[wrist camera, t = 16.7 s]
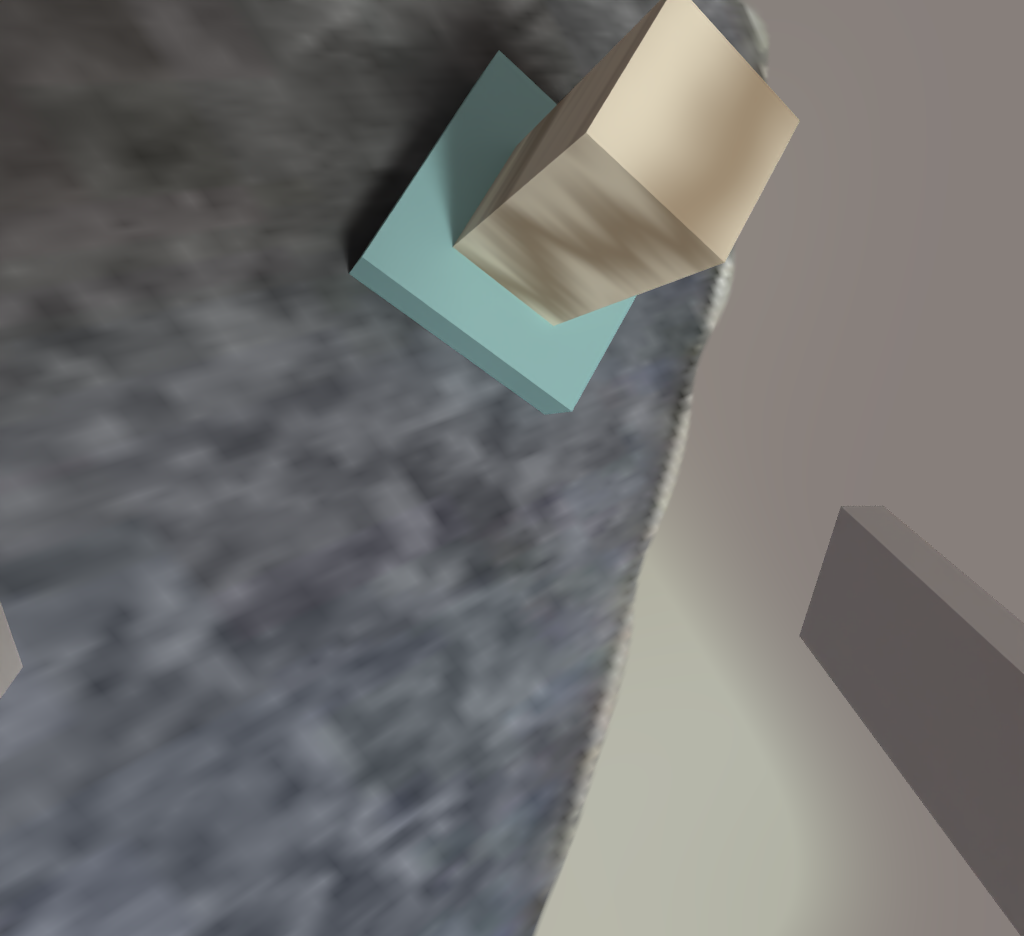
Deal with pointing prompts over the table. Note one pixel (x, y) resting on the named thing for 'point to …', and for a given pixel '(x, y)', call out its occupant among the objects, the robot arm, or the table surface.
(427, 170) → the teal board
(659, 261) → the pale wooden block
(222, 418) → the table surface
